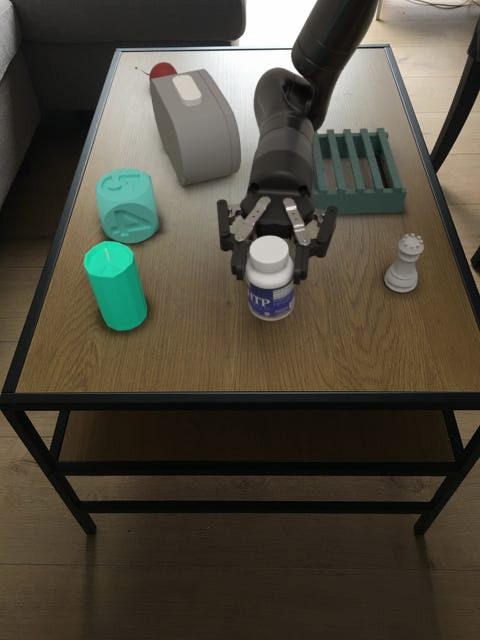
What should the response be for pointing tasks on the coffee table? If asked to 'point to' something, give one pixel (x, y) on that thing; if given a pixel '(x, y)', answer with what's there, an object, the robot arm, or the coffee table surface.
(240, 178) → the coffee table surface
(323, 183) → the rack
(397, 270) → the rook chess piece
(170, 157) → the alarm clock
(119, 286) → the candle
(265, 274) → the pill bottle
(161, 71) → the fruit
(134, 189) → the decorative dice
